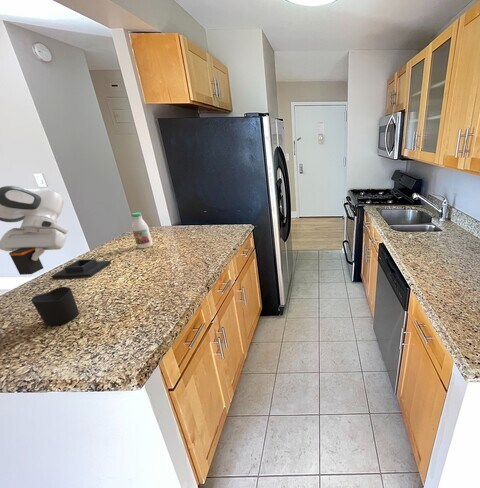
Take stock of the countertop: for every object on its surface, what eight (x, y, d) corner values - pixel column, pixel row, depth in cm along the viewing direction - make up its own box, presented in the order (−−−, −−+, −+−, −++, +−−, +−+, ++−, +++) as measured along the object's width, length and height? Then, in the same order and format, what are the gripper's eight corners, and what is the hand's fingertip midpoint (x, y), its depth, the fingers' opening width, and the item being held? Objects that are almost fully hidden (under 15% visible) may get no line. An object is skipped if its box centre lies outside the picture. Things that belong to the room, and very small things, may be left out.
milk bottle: (141, 244, 155) (132, 211, 148) (155, 243, 156) (146, 211, 148) (134, 249, 148) (124, 215, 141) (148, 248, 149) (139, 214, 141)
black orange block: (19, 274, 96) (8, 252, 93) (32, 268, 101) (22, 247, 98) (31, 274, 97) (20, 252, 93) (44, 268, 101) (34, 246, 98)
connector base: (52, 278, 117) (49, 270, 115) (77, 264, 130) (74, 257, 128) (90, 276, 118) (87, 269, 117) (111, 263, 131) (108, 256, 130)
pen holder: (73, 323, 88) (61, 298, 84) (37, 330, 85) (24, 304, 81) (85, 308, 96) (75, 284, 92) (53, 313, 93) (42, 289, 89)
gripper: (0, 224, 98) (-16, 258, 93) (59, 222, 100) (46, 256, 94) (17, 231, 104) (3, 264, 98) (72, 230, 105) (61, 262, 100)
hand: (25, 260), depth 96 cm, fingers closed on black orange block, 4 cm apart
